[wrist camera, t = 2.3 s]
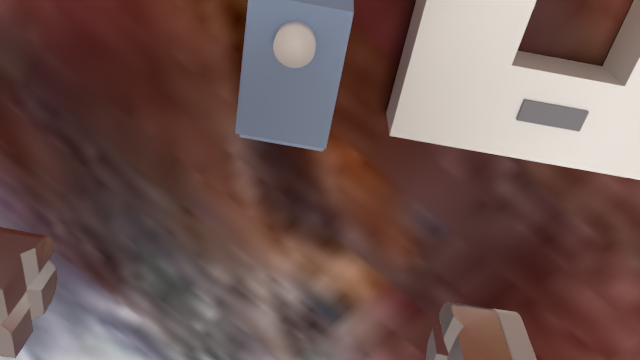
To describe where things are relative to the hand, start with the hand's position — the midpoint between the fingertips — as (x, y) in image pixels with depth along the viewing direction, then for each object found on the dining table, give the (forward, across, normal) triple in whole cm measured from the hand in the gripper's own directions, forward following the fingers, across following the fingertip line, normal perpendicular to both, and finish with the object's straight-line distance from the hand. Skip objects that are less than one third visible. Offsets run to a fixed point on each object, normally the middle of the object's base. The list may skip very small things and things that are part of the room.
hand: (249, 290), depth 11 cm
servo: (+17, 0, 0) cm, 17 cm away
